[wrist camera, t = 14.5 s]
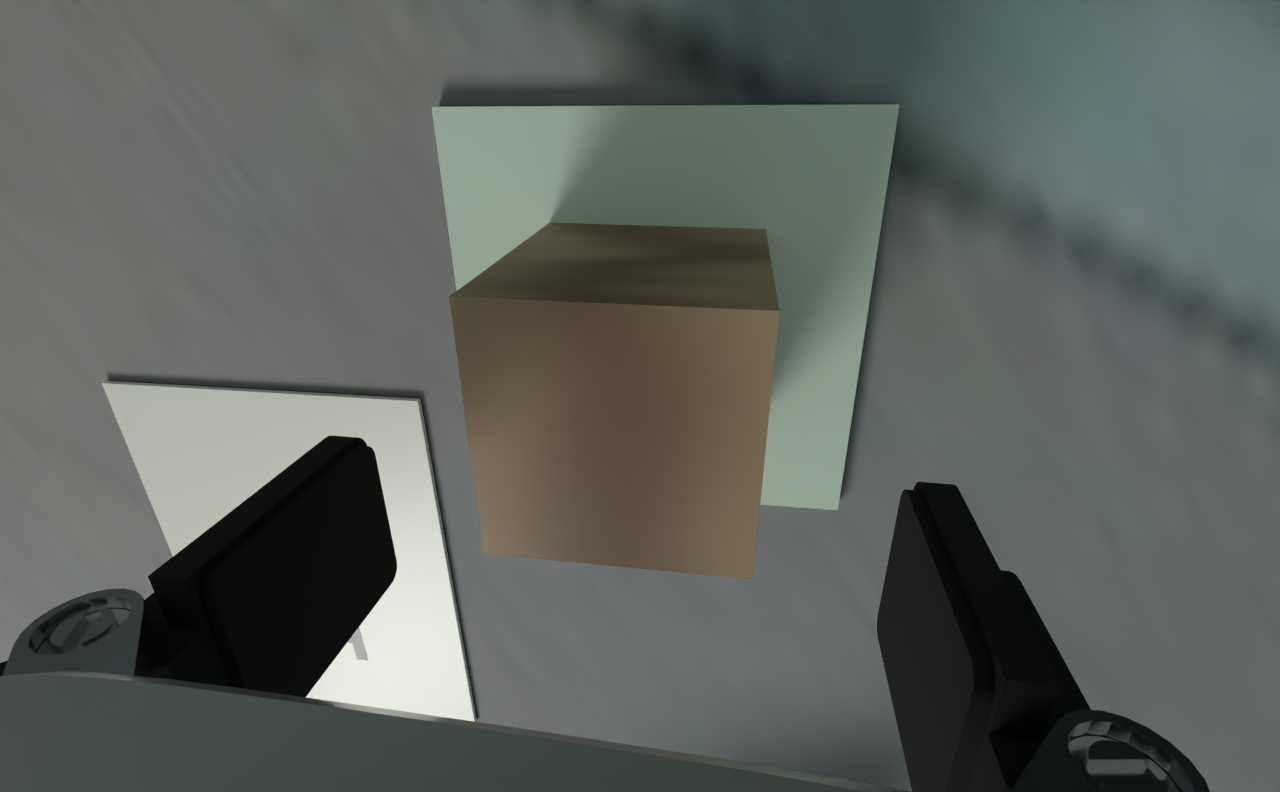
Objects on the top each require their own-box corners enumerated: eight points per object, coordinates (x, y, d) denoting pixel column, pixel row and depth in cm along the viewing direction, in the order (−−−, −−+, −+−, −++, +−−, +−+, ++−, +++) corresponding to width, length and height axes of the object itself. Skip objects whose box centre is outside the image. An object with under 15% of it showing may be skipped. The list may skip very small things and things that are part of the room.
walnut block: (765, 228, 17) (779, 311, 11) (749, 424, 20) (752, 579, 14) (549, 222, 18) (449, 296, 12) (560, 412, 21) (483, 553, 15)
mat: (896, 104, 16) (899, 104, 16) (836, 503, 21) (837, 510, 21) (437, 106, 18) (431, 106, 17) (487, 477, 23) (483, 484, 22)
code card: (420, 398, 22) (417, 401, 22) (476, 720, 29) (475, 724, 29) (106, 380, 23) (101, 383, 23) (232, 690, 30) (229, 694, 30)
